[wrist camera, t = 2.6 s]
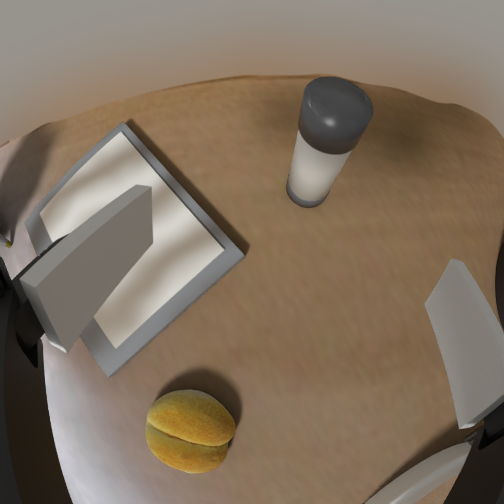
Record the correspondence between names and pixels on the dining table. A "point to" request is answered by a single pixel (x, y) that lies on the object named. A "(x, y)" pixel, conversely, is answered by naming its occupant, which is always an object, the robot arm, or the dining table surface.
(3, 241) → the alarm clock
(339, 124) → the white grey cylinder
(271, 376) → the dining table surface
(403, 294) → the dining table surface
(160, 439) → the bread roll
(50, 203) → the clipboard
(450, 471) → the white hollow ring
